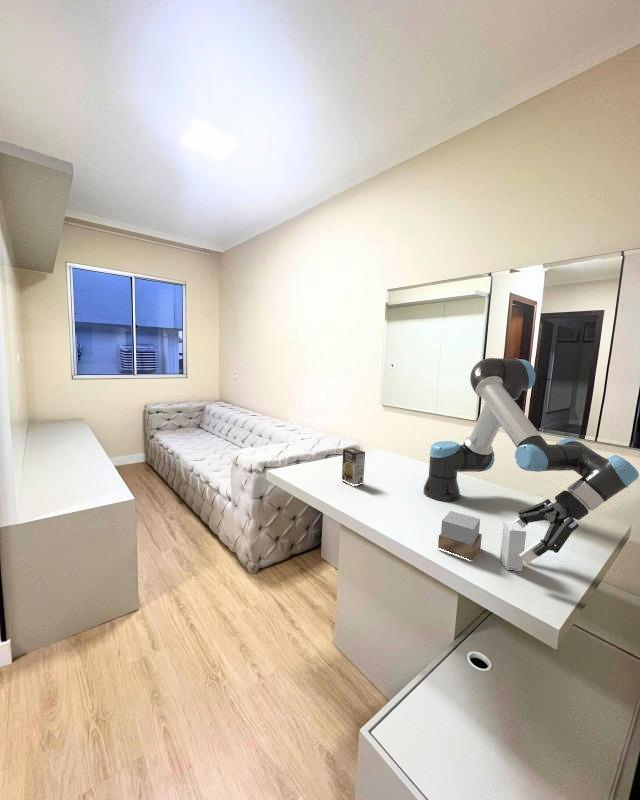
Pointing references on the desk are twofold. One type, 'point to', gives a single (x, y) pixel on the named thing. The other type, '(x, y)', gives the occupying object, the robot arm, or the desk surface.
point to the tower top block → (460, 527)
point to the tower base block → (460, 547)
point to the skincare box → (512, 545)
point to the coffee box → (353, 465)
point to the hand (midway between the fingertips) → (513, 546)
